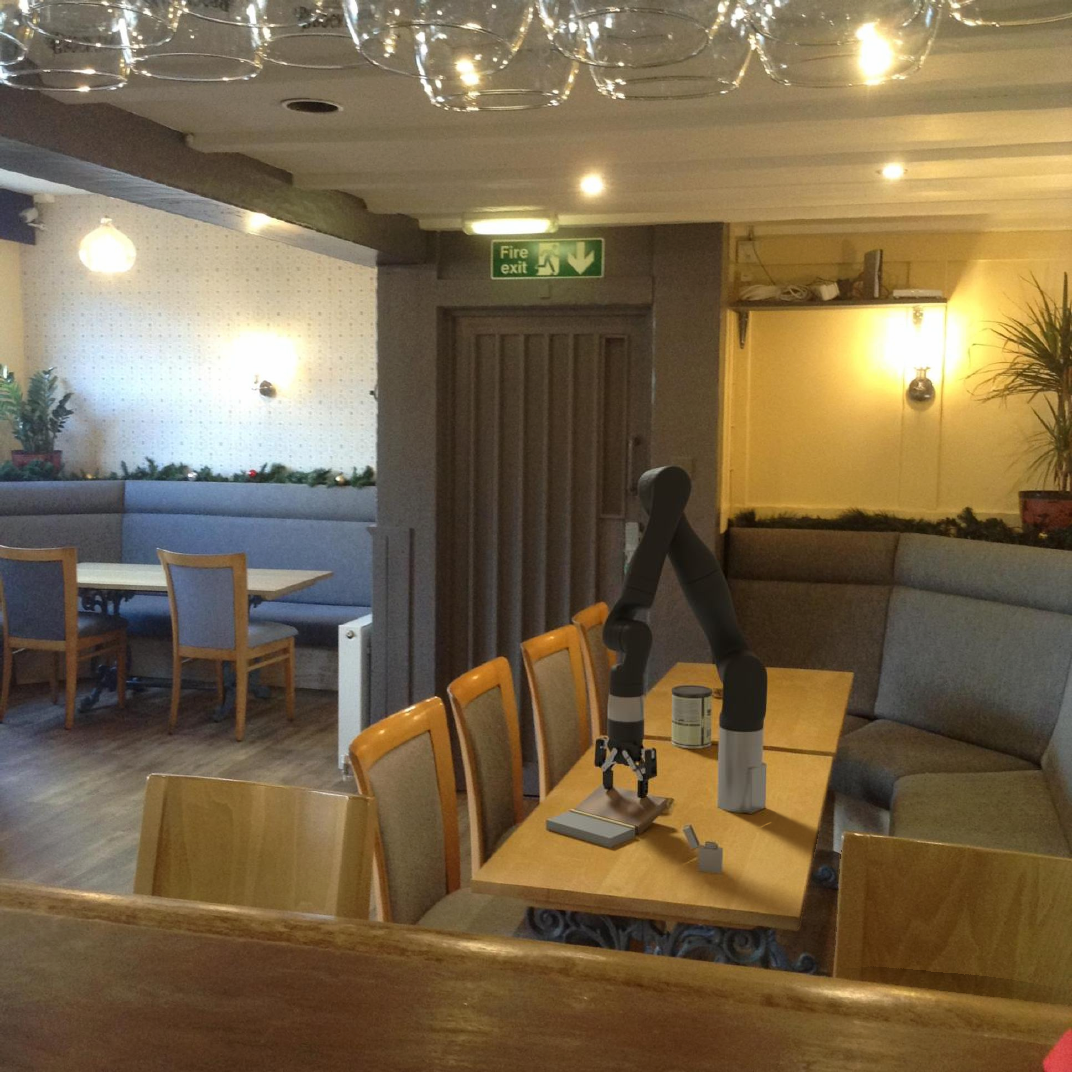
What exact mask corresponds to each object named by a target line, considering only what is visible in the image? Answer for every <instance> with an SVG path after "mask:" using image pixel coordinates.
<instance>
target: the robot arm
mask: <svg viewBox="0 0 1072 1072" xmlns="http://www.w3.org/2000/svg"><path fill="white" fill-rule="evenodd" d="M637 483H638V484H637V496H638V499H639V501H640V503H641V506H642V508H643V509H644V511H645V513H646V515H647V516H648V519H647V523H646V526H645V528H644V530H643V533H642V536H641V538H640V539H639V541H638V544H637V546H636V548H635V549H634V551H633V554H632V555H631V557H630V560H629V561H628V565H627V567H626V571H625V575H624V579H623V582H622V585H621V590H620V592H619V596H618V597H617V599H616V600H615V602H614V604H613V606H612V608H611V610H610V612H609V614H607V617H606V618H605V620H604V623H603V626H602V631H601V634H602V635H601V637H602V638H601V639H602V641H603V645H604V646H605V647H606V648H607V649H608V650H610V651H613V652H616V653H622V654H625V657H624V660H623V663H617V664H615V665H612V667H610V669H609V674H608V675H609V679H608V680H609V685H608V687H609V688H608V691H609V692H608V699H607V700H608V701H607V733H606V734H607V737H606V736H603V737H602V736H601V737H599V738H596V739H595V748H594V760H593V761H594V766H595V767H596V768H597V767H598V768H599V769H601V771H602V783H603V786H604V789H607V790H609V789H611V788H612V787H613V786H614V770H613V768H614V766H616V765H624V766H625V767H626V766H627V767H630V769H631V771H633V772H634V773H635V776H636V777H637V789H636V792H637V797H638V798H644V797H645V796H646V795H647V794H648V793H649V781H650V779H654V778H656V777H658V760H657V749H656V748H655V747H651V748H648V747H647V748H646V747H644V744H643V741H644V738H645V714H646V713H645V709H646V707H645V699H644V698H645V696H644V691H645V689H644V687H645V686H644V685H645V683H644V680H645V679H644V677H645V673H646V672H645V671H646V668H647V665H648V661H649V657H650V655H651V651H652V647H653V633H652V630H651V627H650V626H649V625H648V624H647V623H646V622H645V621H643V620H639V619H635V617H637V614H638V613H639V612H641V611H647V610H650V609H651V608H652V607H653V604H654V602H655V599H656V595H657V590H658V586H659V584H660V580H661V576H662V575H661V574H662V571H663V568H664V564H665V562H666V558H667V557H668V560H669V562H670V565H671V566H672V569H673V571H674V573H675V576H676V579H677V581H678V582H677V583H679V584H678V585H679V587H680V589H681V591H682V593H683V596H684V597H685V600H686V602H687V604H688V606H689V608H690V610H691V612H692V614H693V615H694V617H695V619H696V621H697V623H698V625H699V626H700V628H701V629H702V631H703V634H704V635H705V637H706V640H707V643H708V644H709V645H708V646H709V648H710V651H711V654H712V656H713V657H712V658H713V661H714V663H715V667H716V671H717V675H718V678H719V679H720V682H721V684H722V699H721V700H722V701H721V702H722V703H721V710H720V713H719V715H718V717H719V718H718V719H719V720H718V753H717V755H718V757H717V758H718V761H717V766H718V767H717V796H716V797H717V806H718V808H719V809H722V810H724V811H727V812H731V813H739V814H740V813H741V814H750V815H751V814H754V813H756V812H759V811H761V810H762V809H765V808H766V803H767V802H766V800H767V797H766V796H767V763H765V762H763V759H764V758H763V756H764V726H765V725H764V722H765V718H766V714H767V699H768V672H767V667H766V665H765V664H764V662H763V661H762V660H761V659H760V658H759V657H758V656H757V655H756V654H755V653H754V651H753V649H752V648H751V646H750V644H749V643H748V641H747V640H746V638H745V636H744V633H743V631H742V629H741V628H740V625H739V623H738V620H737V616H736V612H735V607H734V602H733V598H732V594H731V591H730V588H729V584H728V582H727V580H726V577H725V574H724V573H723V570H722V568H721V565H720V563H719V561H718V560H717V557H716V556H715V555H714V554H713V552H712V550H711V549H710V548H709V546H707V545H706V543H705V542H704V541H703V540H702V539H701V537H700V536H699V535H698V534H697V532H695V530H694V529H693V527H692V526H691V524H690V521H689V520H688V518H687V516H686V513H685V509H686V507H687V504H688V502H689V499H690V497H691V494H692V487H693V486H692V480H691V478H690V476H689V473H687V471H686V470H685V469H684V468H682V467H680V466H678V465H677V466H676V465H665V466H661V467H657V468H652V469H650V470H647V471H645V472H644V473H642V475H641V476H640V478H639V480H638V482H637ZM607 751H609V754H608V756H607ZM637 763H638V764H637ZM648 795H649V794H648Z"/></svg>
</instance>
